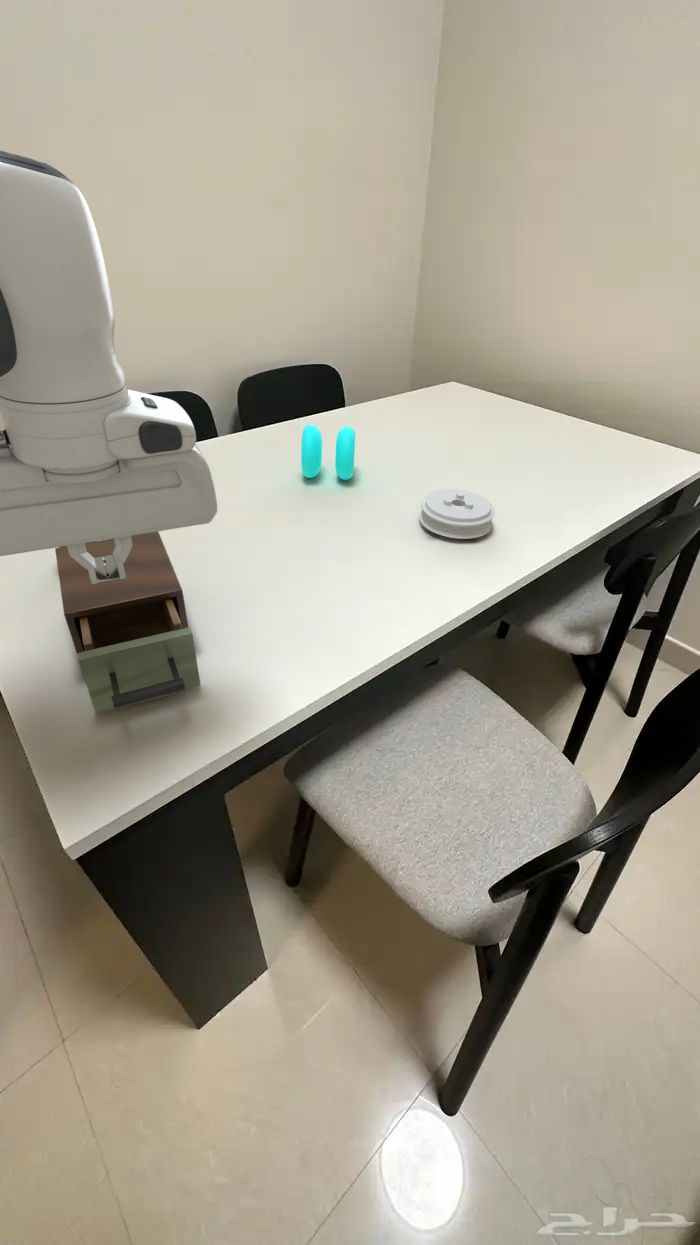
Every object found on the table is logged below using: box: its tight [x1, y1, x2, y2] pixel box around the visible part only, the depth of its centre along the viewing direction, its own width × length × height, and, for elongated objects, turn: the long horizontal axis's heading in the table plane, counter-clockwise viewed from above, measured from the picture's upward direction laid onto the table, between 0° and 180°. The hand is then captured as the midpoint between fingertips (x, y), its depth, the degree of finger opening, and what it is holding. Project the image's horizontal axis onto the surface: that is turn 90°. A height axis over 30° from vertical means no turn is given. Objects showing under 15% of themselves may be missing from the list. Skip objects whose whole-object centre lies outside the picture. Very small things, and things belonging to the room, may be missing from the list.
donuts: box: [300, 423, 356, 481], centre depth 112 cm, size 10×10×10 cm
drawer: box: [76, 598, 201, 714], centre depth 65 cm, size 18×11×8 cm, turn 25°
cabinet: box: [54, 531, 189, 654], centre depth 73 cm, size 15×13×10 cm
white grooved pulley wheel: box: [419, 488, 496, 540], centre depth 100 cm, size 13×13×5 cm
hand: (108, 578), depth 52 cm, fingers closed
